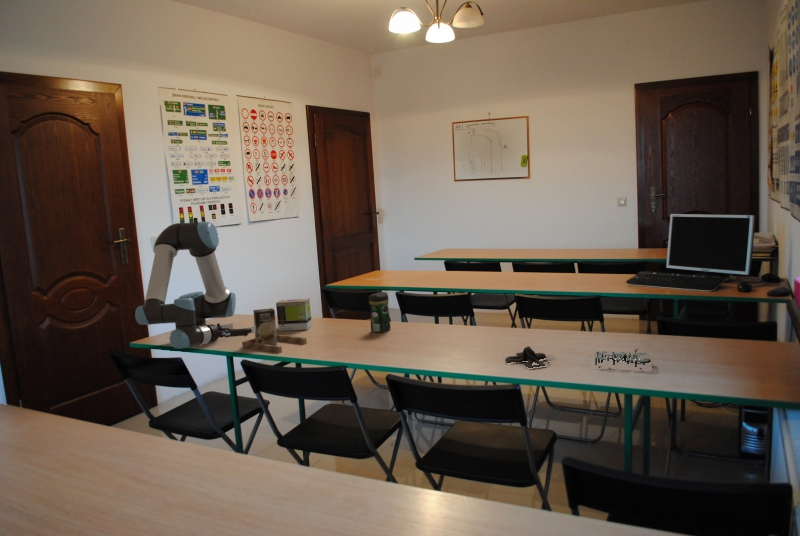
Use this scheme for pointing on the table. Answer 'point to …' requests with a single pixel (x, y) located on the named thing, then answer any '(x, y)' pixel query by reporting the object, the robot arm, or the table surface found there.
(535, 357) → the cloth
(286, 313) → the tea box
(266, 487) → the table surface
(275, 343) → the coffee box
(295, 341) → the brown wooden flat frame
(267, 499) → the table surface
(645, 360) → the neon sign
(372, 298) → the coffee jar
